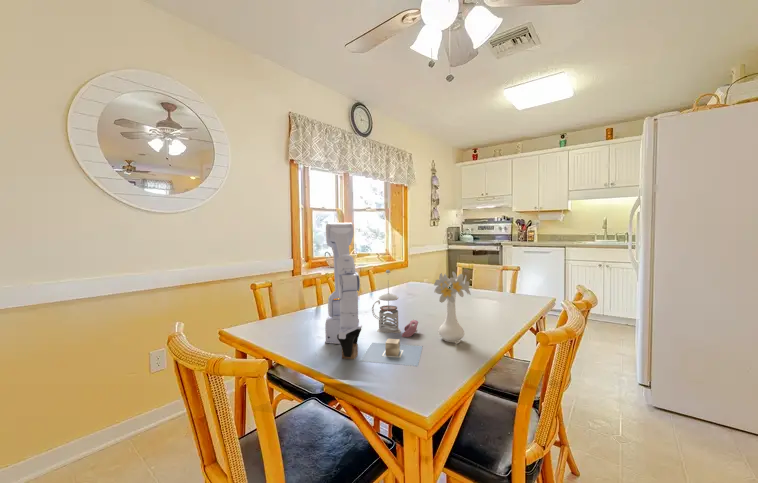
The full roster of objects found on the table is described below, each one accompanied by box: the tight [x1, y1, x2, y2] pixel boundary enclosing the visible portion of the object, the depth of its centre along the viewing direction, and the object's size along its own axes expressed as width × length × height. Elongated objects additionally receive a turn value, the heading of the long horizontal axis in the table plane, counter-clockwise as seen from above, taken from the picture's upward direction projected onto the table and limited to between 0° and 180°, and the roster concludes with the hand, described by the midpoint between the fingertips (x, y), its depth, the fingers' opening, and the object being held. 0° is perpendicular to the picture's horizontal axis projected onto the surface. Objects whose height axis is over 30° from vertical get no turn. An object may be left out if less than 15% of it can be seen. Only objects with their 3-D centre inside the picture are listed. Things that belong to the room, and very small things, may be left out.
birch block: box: [385, 338, 401, 356], centre depth 101 cm, size 4×4×4 cm
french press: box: [371, 269, 402, 334], centre depth 126 cm, size 10×12×25 cm
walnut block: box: [341, 343, 359, 360], centre depth 100 cm, size 4×4×4 cm
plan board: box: [359, 342, 424, 367], centre depth 102 cm, size 18×16×1 cm
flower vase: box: [433, 271, 472, 345], centre depth 112 cm, size 13×18×25 cm
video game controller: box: [401, 319, 419, 338], centre depth 121 cm, size 10×5×7 cm, turn 169°
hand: (350, 353), depth 100 cm, fingers closed on walnut block, 4 cm apart
